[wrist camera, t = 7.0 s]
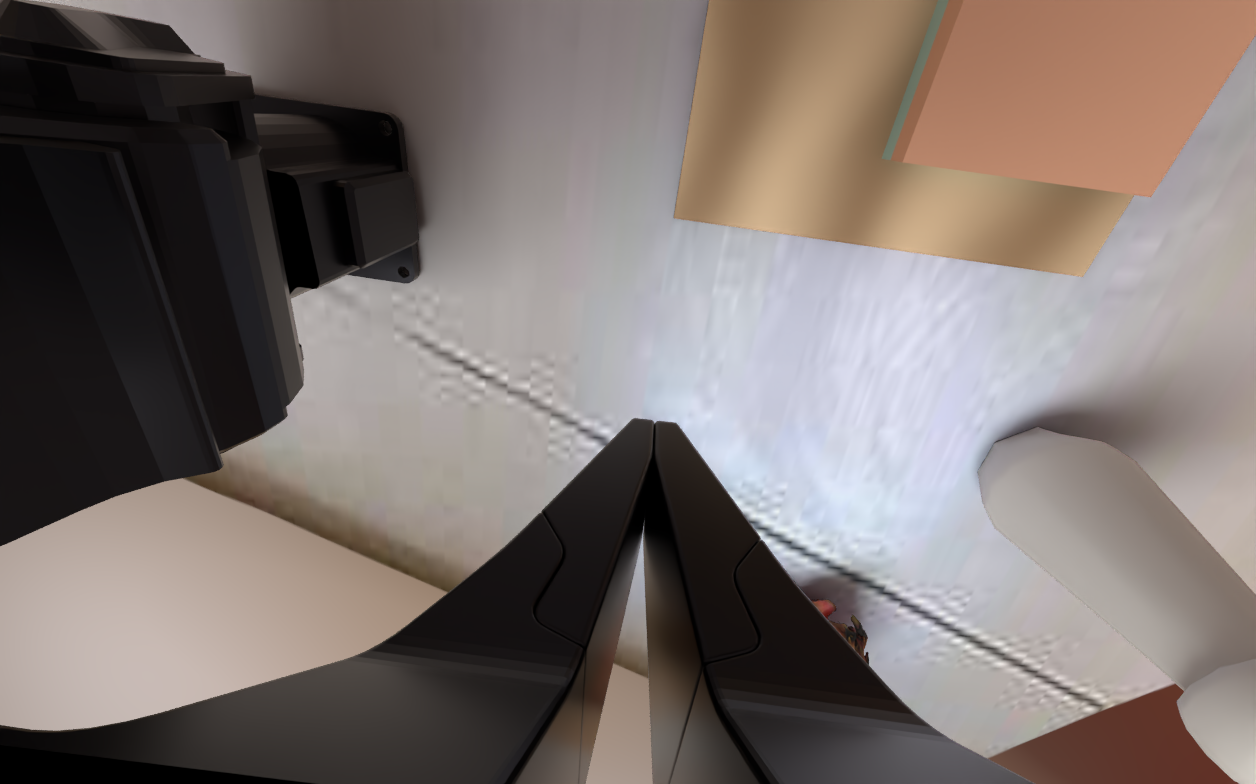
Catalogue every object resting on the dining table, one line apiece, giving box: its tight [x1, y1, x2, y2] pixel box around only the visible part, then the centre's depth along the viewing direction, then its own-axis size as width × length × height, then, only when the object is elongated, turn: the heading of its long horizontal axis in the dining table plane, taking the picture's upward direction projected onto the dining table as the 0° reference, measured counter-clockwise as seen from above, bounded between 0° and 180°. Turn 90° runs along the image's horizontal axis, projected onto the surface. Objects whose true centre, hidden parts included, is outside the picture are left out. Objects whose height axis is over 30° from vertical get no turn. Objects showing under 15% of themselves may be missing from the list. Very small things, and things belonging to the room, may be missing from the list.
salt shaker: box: [978, 427, 1256, 784], centre depth 17 cm, size 6×6×13 cm
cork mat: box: [674, 0, 1134, 277], centre depth 15 cm, size 16×14×1 cm
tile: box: [882, 0, 1256, 197], centre depth 14 cm, size 2×8×8 cm
